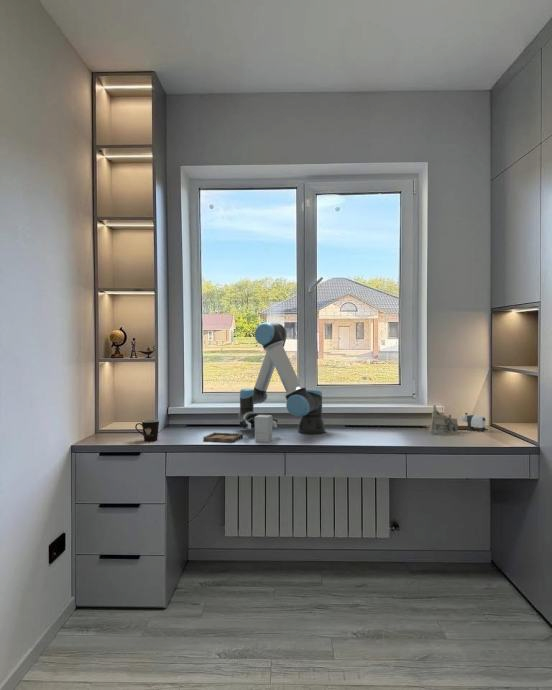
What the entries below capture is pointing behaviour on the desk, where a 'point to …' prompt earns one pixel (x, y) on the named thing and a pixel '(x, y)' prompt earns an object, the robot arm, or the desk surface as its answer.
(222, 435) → the walnut tray
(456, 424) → the ceramic cottage
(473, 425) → the giant panda
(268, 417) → the supplement box
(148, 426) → the coffee mug
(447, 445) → the desk surface
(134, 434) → the desk surface
